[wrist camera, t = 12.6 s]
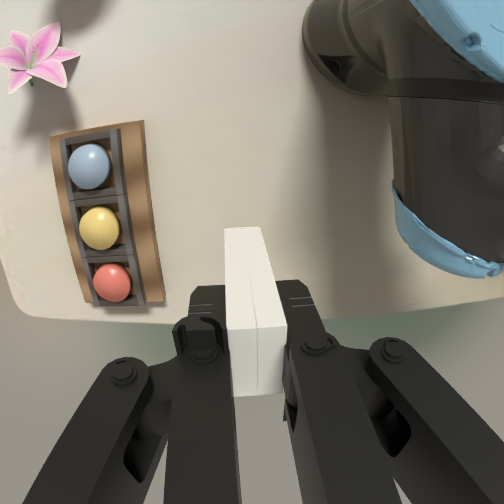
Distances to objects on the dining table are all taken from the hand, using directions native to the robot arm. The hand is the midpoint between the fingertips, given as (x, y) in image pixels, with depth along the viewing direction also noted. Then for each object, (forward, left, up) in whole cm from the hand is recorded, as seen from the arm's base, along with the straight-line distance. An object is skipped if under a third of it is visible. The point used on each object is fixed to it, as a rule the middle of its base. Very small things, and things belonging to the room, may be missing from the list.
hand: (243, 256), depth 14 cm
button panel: (+6, -16, -24) cm, 30 cm away
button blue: (-2, -16, -22) cm, 27 cm away
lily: (-16, -22, -25) cm, 37 cm away
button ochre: (+6, -16, -22) cm, 28 cm away
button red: (+14, -16, -22) cm, 30 cm away
